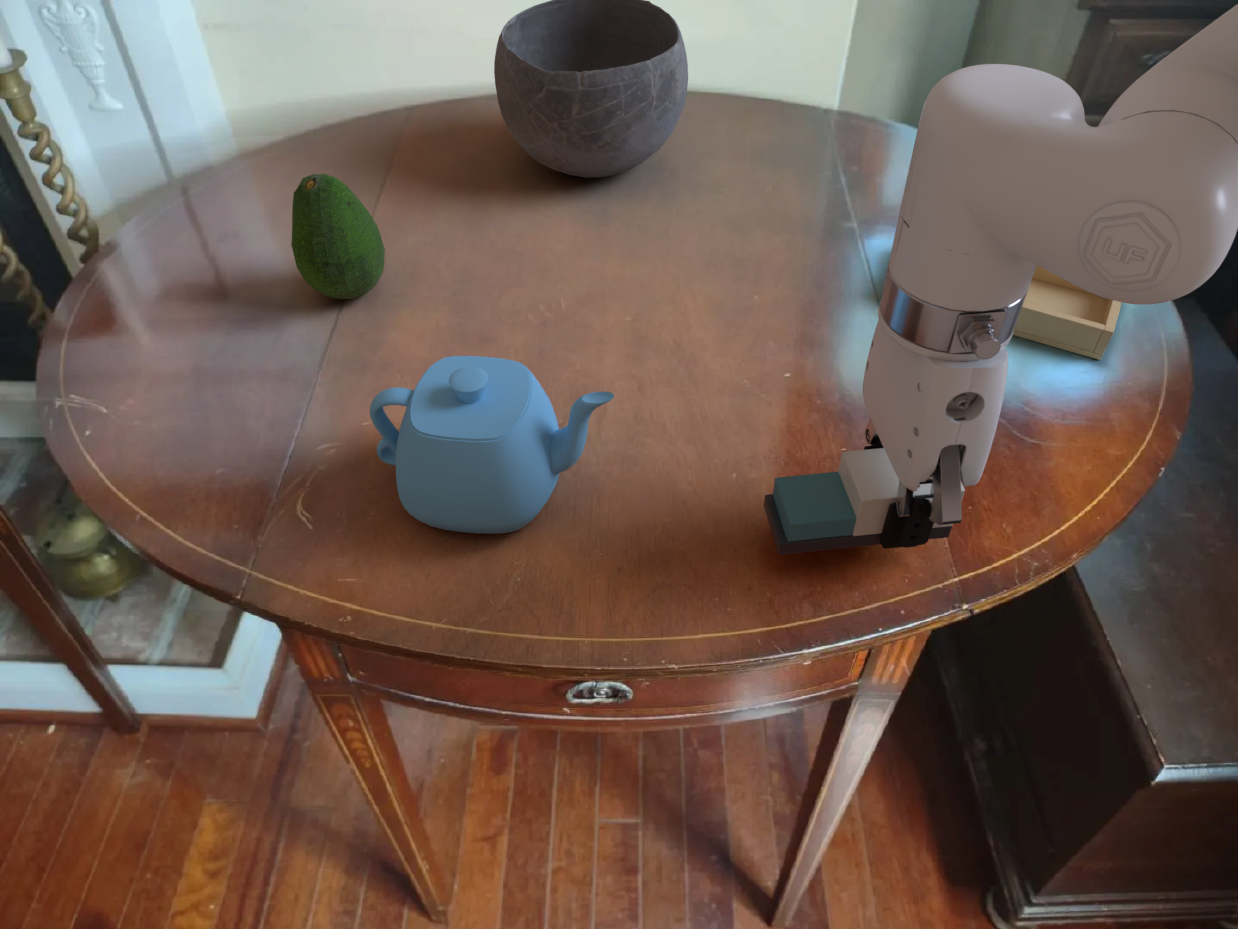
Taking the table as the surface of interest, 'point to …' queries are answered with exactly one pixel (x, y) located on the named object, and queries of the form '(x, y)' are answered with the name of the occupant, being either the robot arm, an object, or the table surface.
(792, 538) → the two-tone stepped block
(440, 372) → the teapot
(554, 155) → the bowl
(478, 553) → the table surface
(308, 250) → the fruit
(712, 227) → the table surface
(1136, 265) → the robot arm
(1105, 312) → the wooden tray
